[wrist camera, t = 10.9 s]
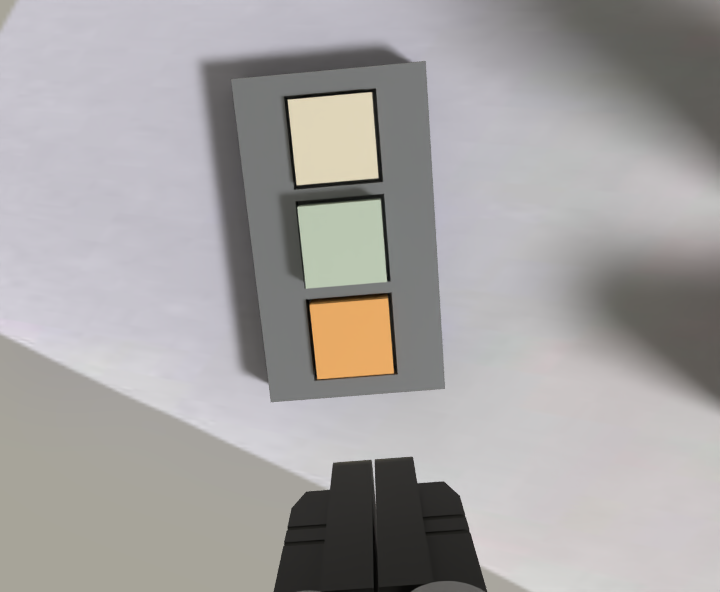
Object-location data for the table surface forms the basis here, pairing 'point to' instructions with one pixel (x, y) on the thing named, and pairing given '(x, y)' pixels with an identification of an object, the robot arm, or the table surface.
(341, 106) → the beige key
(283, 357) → the keypad
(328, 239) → the sage key
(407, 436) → the table surface
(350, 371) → the orange key
